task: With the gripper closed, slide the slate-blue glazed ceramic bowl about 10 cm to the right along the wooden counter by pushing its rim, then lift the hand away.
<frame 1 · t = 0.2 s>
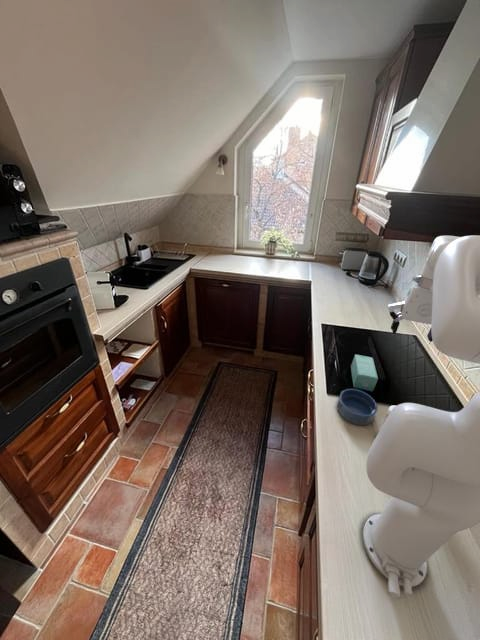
hand: (411, 335, 78), 31 cm above the worktop, tool pointing down, fingers open, 9 cm apart
box: (360, 379, 106), on the worktop
bowl: (354, 411, 91), on the worktop
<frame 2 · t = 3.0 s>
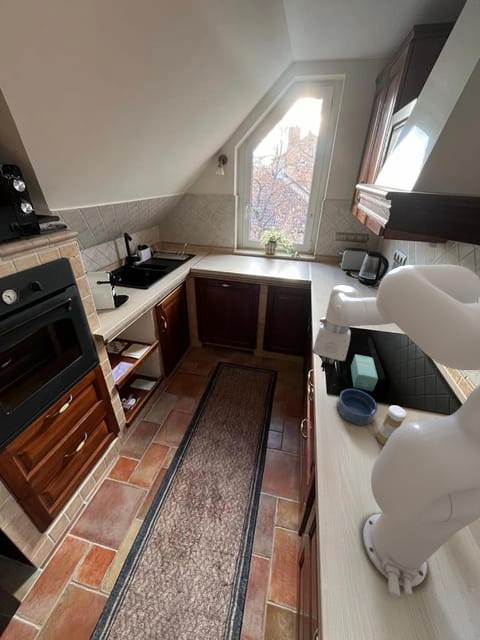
hand: (324, 369, 88), 15 cm above the worktop, tool pointing down, fingers closed
nothing on the worktop moved.
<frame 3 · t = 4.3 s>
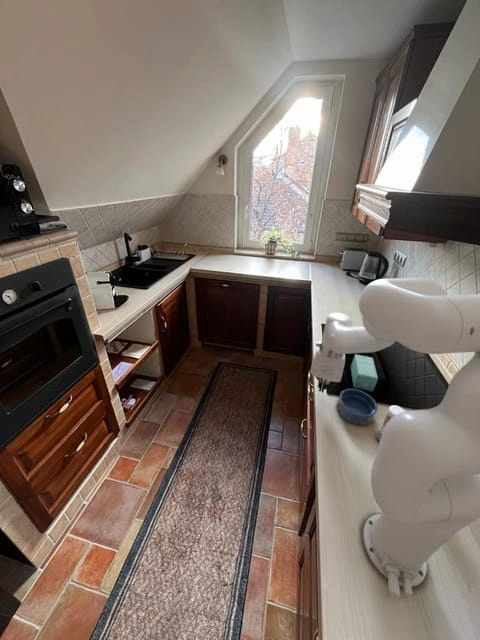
hand: (321, 389, 92), 5 cm above the worktop, tool pointing down, fingers closed
nothing on the worktop moved.
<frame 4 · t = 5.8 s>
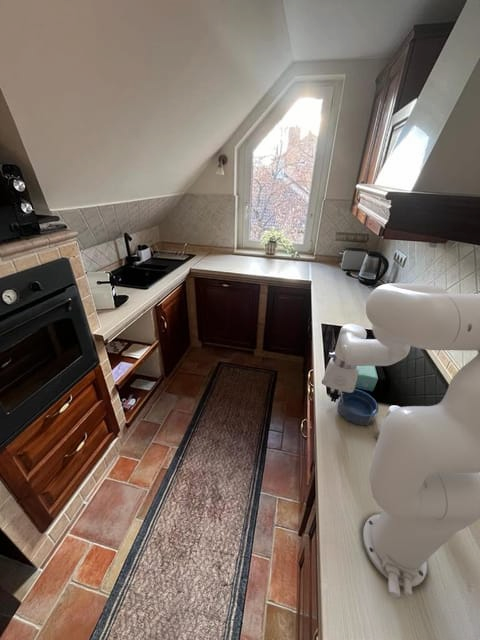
hand: (333, 399, 92), 3 cm above the worktop, tool pointing down, fingers closed
bowl: (355, 411, 91), on the worktop, touching gripper
everything else where it was.
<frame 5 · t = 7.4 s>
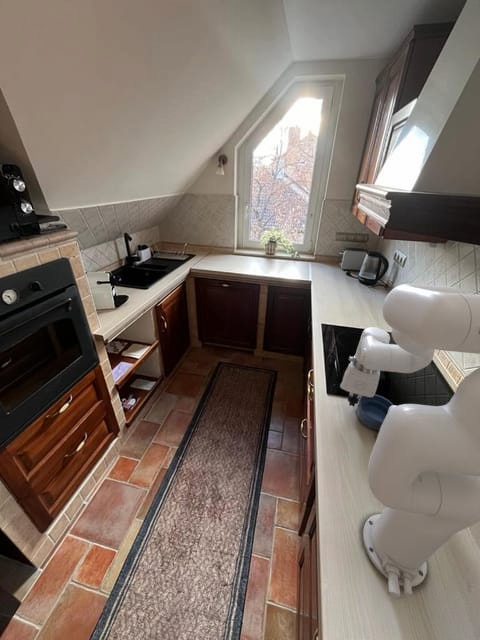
hand: (351, 403, 90), 3 cm above the worktop, tool pointing down, fingers closed
bowl: (373, 416, 89), on the worktop, touching gripper
everything else where it was.
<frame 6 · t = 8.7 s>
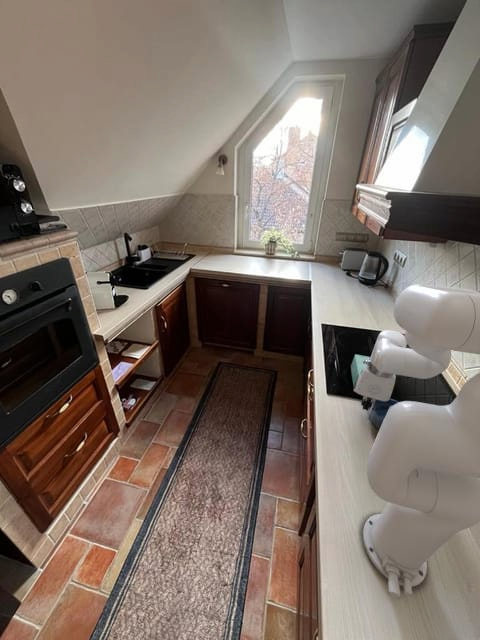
hand: (365, 407, 89), 3 cm above the worktop, tool pointing down, fingers closed
bowl: (387, 421, 88), on the worktop, touching gripper
everything else where it was.
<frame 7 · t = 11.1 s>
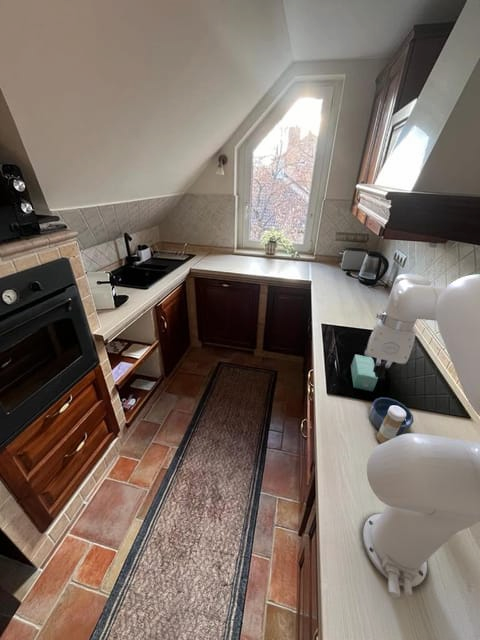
hand: (377, 374, 76), 22 cm above the worktop, tool pointing down, fingers closed
bowl: (387, 421, 88), on the worktop
everything else where it was.
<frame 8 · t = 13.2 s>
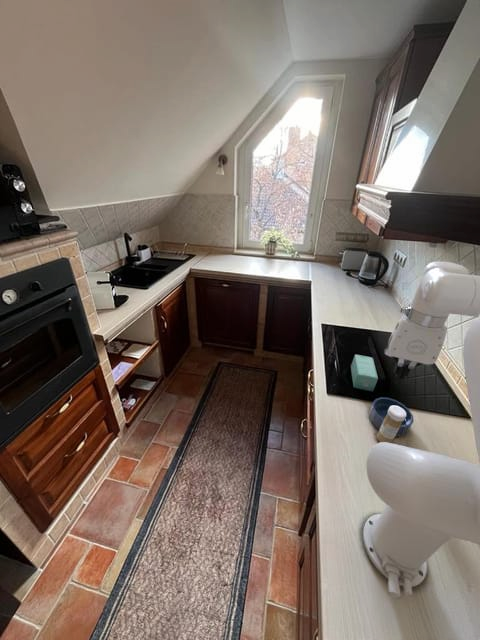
hand: (399, 376, 68), 27 cm above the worktop, tool pointing down, fingers closed
nothing on the worktop moved.
at the end: bowl inside the target area (0.8 cm from its centre), on the worktop; bowl moved 10.8 cm from its start; bowl tilted 0° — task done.
